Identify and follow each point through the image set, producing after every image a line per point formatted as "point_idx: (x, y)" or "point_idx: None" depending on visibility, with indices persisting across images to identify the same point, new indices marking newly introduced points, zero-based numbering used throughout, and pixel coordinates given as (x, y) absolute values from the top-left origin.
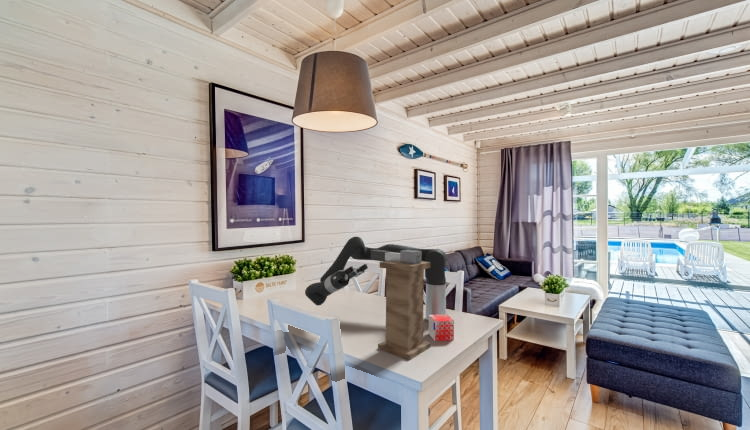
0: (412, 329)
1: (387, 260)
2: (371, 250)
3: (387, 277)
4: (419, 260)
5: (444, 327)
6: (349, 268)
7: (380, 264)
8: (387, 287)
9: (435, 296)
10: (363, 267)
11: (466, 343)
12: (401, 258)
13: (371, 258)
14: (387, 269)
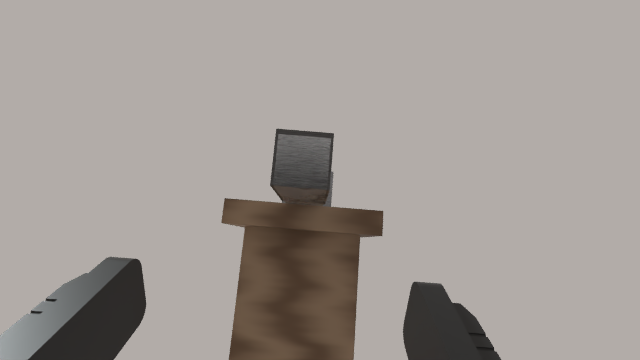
0: None
1: (322, 205)
2: (333, 135)
3: (357, 276)
4: None
5: None
6: (465, 317)
7: (381, 221)
8: (354, 321)
9: None
10: (105, 326)
11: None
12: (330, 198)
13: (328, 189)
14: (359, 241)
